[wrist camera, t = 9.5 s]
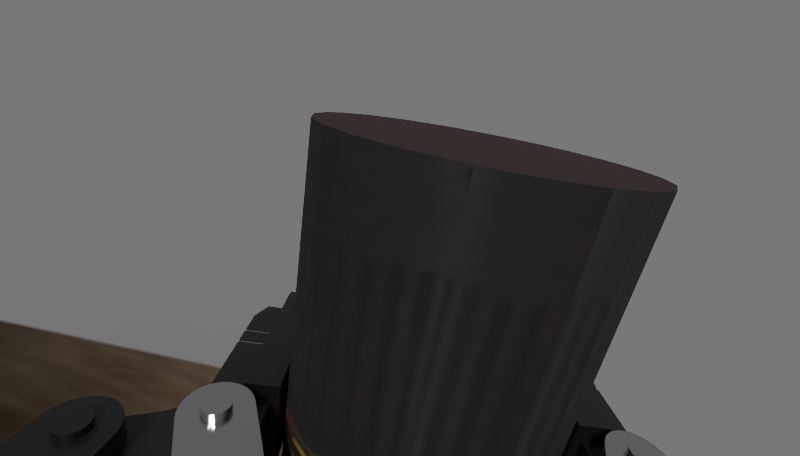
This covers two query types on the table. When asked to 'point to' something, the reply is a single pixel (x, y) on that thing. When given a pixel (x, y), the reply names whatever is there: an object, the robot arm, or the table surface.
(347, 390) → the deodorant
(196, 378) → the table surface
